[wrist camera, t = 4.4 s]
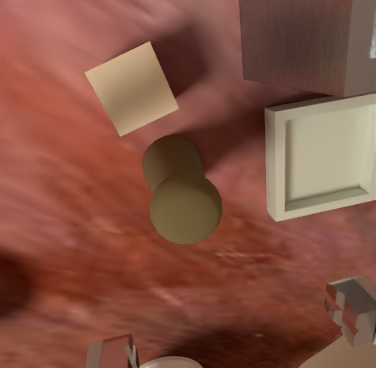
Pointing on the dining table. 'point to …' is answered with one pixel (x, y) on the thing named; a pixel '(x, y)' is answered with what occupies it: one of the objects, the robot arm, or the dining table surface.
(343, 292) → the robot arm
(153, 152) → the cork
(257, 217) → the dining table surface
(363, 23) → the box
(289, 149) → the tray
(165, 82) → the maple block
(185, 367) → the decorative vase
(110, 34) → the dining table surface
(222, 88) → the dining table surface
